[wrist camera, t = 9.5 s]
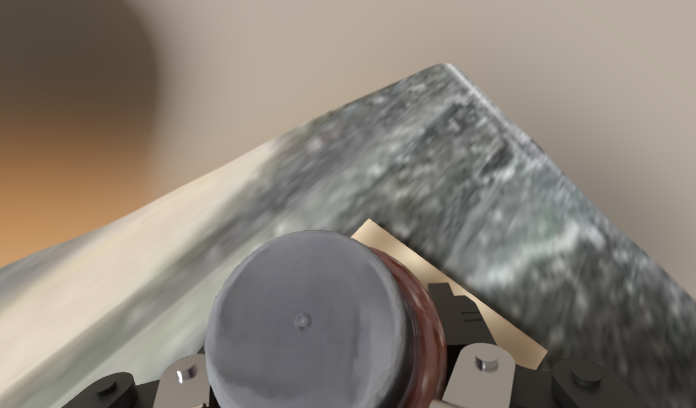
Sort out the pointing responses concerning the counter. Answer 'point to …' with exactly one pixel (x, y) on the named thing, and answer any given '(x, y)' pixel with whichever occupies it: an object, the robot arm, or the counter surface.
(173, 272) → the counter surface
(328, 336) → the supplement bottle
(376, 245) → the collar board
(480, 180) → the counter surface
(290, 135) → the counter surface
